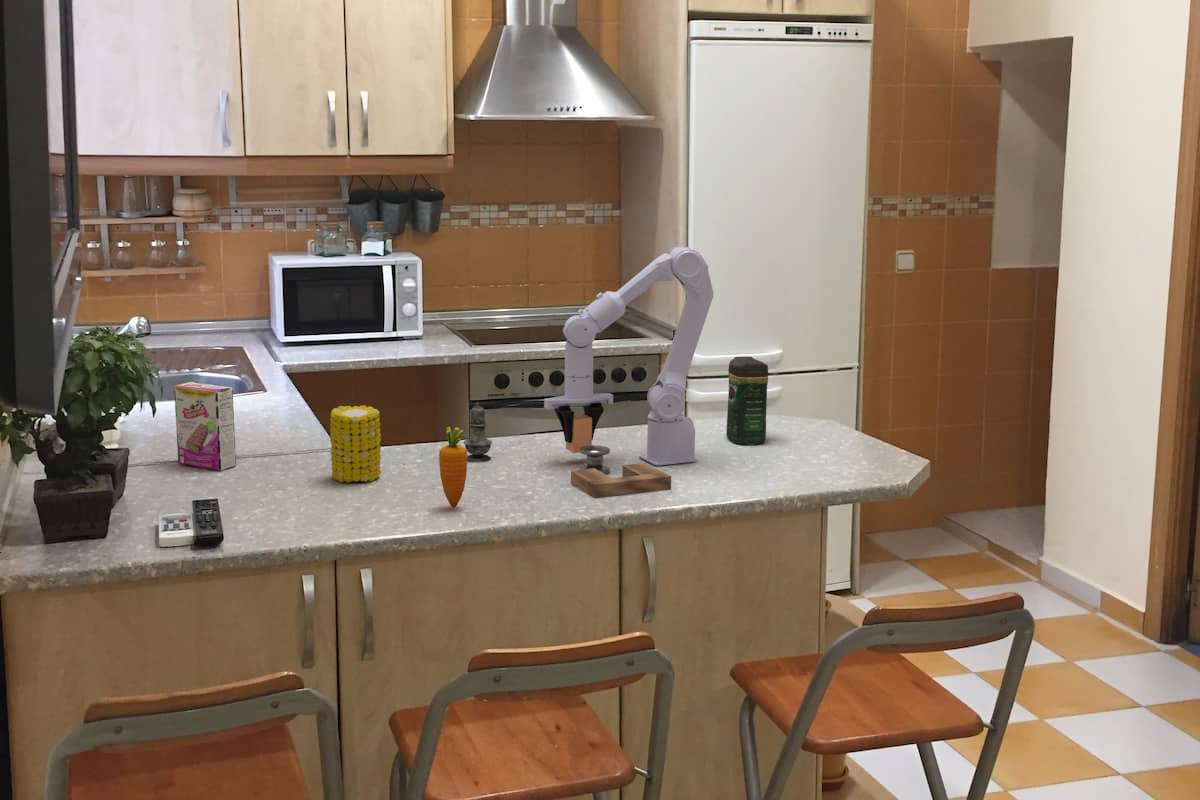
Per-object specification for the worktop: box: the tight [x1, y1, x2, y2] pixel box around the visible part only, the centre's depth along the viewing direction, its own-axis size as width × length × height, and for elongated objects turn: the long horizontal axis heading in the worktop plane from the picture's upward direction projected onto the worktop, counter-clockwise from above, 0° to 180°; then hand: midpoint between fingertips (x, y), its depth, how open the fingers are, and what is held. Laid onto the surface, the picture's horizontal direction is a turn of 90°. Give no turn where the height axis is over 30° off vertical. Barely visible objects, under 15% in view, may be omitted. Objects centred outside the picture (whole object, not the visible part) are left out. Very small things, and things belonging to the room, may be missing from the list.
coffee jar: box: [725, 356, 769, 446], centre depth 288 cm, size 10×8×19 cm
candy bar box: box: [173, 381, 237, 472], centre depth 261 cm, size 11×5×16 cm, turn 65°
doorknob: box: [579, 444, 611, 475], centre depth 262 cm, size 6×6×5 cm
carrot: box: [438, 426, 468, 509], centre depth 234 cm, size 5×5×15 cm
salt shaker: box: [463, 401, 493, 463], centre depth 270 cm, size 6×6×12 cm
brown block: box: [565, 413, 593, 454], centre depth 268 cm, size 4×4×7 cm
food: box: [329, 405, 382, 483], centre depth 253 cm, size 15×12×10 cm
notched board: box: [570, 462, 672, 499], centre depth 251 cm, size 16×11×2 cm
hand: (578, 440), depth 268 cm, fingers closed on brown block, 4 cm apart
